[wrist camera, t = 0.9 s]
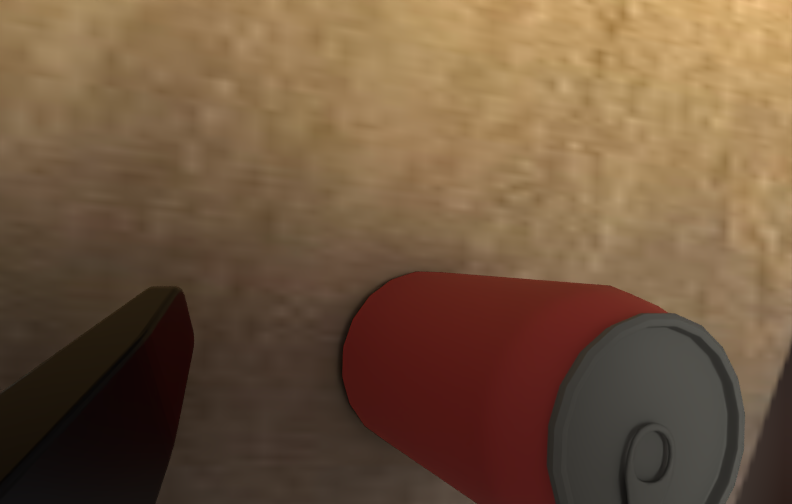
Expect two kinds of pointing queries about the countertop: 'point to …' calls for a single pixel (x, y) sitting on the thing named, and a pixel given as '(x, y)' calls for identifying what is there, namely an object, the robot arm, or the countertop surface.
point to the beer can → (546, 391)
